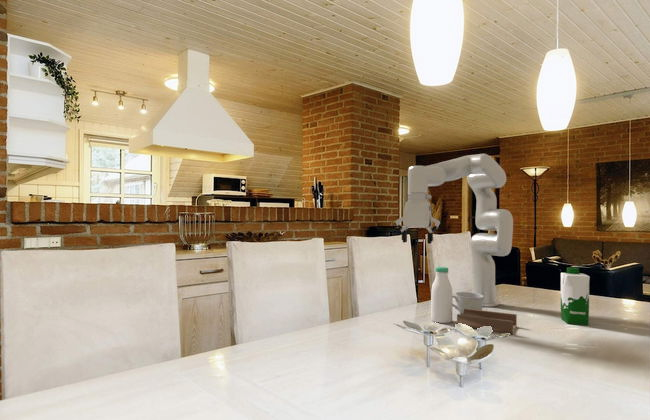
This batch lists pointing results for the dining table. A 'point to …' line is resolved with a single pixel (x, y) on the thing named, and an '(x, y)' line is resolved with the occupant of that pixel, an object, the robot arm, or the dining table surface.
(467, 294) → the teacup
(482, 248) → the robot arm
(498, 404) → the dining table surface
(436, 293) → the milk bottle
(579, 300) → the milk carton
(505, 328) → the cradle
